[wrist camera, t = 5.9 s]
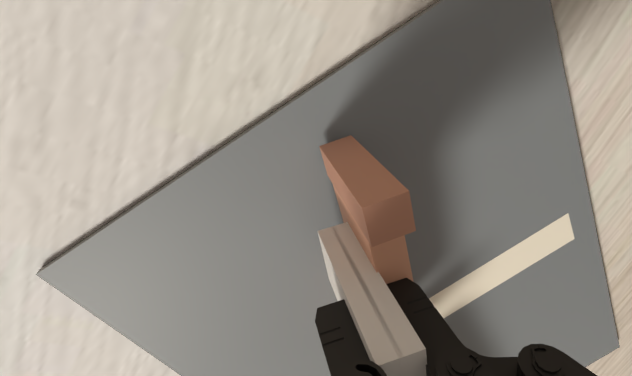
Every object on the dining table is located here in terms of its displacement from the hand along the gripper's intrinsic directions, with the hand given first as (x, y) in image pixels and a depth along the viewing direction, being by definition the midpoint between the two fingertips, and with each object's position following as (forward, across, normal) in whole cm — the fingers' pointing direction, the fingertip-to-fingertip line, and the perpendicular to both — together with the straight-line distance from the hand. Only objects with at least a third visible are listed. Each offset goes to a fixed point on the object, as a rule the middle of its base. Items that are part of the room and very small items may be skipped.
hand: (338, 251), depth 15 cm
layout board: (+2, +4, -8) cm, 9 cm away
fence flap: (+1, +1, -1) cm, 2 cm away
